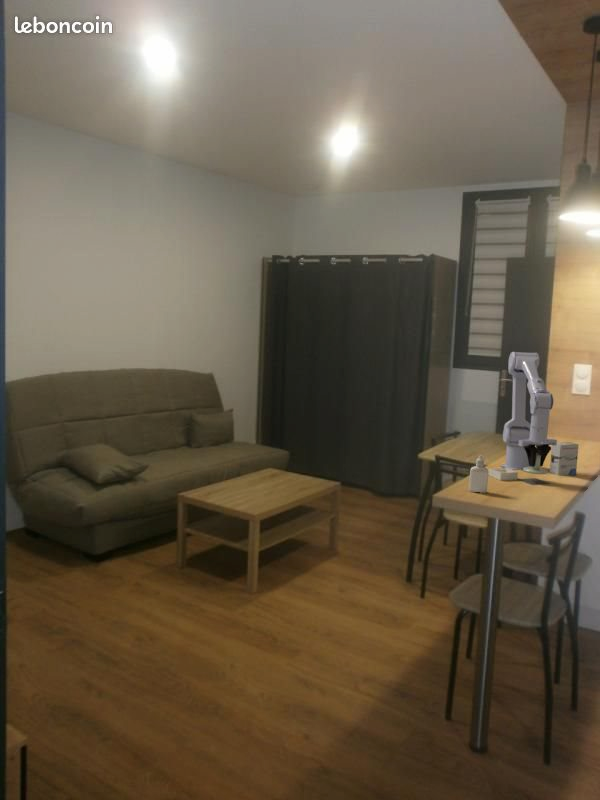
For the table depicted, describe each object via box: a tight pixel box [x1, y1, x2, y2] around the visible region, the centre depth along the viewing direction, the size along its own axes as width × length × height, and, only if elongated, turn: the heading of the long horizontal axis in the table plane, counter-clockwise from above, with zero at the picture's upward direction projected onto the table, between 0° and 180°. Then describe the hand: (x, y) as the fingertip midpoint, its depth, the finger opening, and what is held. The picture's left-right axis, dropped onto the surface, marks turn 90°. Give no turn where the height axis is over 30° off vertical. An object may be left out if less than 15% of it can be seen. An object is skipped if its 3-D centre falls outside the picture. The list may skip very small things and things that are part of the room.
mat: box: [517, 477, 552, 486], centre depth 230 cm, size 8×8×1 cm
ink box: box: [549, 441, 580, 476], centre depth 244 cm, size 8×5×12 cm, turn 111°
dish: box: [488, 467, 519, 481], centre depth 234 cm, size 7×7×3 cm
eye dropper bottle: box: [468, 454, 489, 494], centre depth 214 cm, size 4×6×12 cm
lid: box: [522, 455, 549, 475], centre depth 229 cm, size 8×8×6 cm
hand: (535, 466), depth 229 cm, fingers closed on lid, 3 cm apart
